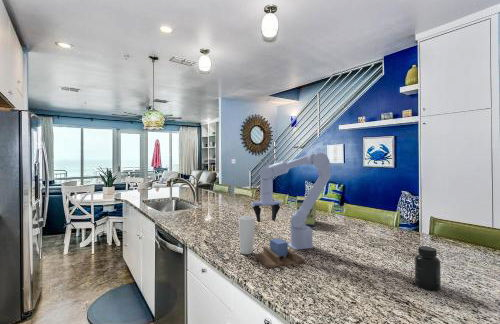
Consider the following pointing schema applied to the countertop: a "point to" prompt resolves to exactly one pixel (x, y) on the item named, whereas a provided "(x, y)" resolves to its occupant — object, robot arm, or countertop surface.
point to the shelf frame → (277, 258)
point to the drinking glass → (246, 234)
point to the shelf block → (279, 247)
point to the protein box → (311, 215)
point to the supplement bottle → (427, 269)
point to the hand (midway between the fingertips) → (266, 221)
